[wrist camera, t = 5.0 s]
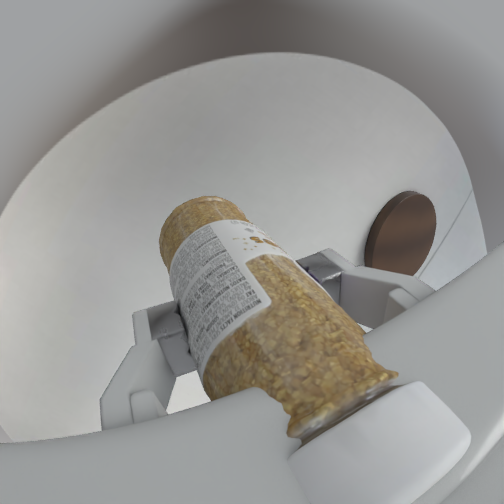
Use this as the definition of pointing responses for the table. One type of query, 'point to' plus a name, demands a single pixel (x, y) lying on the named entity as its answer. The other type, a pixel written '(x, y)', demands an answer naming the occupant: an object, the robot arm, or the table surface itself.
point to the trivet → (402, 234)
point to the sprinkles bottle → (302, 362)
